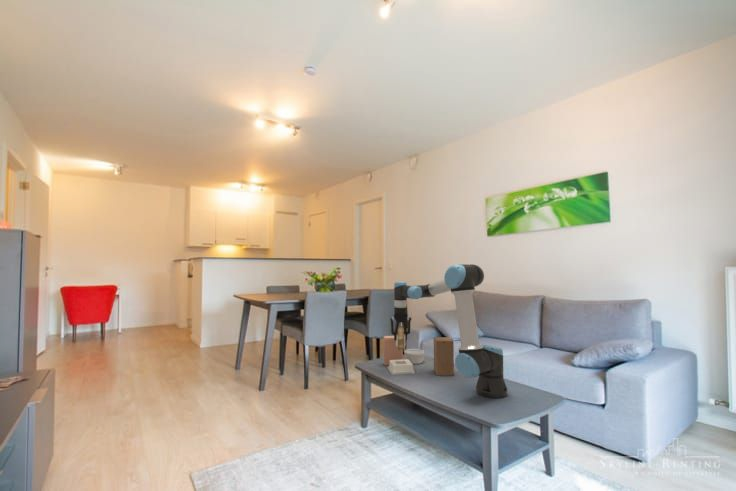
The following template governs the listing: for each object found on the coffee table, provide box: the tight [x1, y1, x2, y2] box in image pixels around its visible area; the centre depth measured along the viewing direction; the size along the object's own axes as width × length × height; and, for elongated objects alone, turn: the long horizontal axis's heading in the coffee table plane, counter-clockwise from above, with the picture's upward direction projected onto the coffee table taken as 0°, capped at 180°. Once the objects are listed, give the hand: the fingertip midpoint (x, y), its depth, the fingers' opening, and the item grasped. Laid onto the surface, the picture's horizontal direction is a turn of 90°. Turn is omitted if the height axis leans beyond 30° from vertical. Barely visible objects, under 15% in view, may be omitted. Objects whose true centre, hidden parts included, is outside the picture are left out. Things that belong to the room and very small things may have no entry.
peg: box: [397, 325, 405, 352], centre depth 218 cm, size 4×4×14 cm
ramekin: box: [403, 348, 425, 365], centre depth 236 cm, size 13×13×7 cm
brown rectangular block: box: [383, 335, 404, 366], centre depth 228 cm, size 7×12×18 cm, turn 97°
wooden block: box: [433, 336, 455, 377], centre depth 212 cm, size 10×10×20 cm
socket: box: [387, 358, 416, 376], centre depth 217 cm, size 14×14×5 cm
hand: (400, 345), depth 218 cm, fingers closed on peg, 4 cm apart
